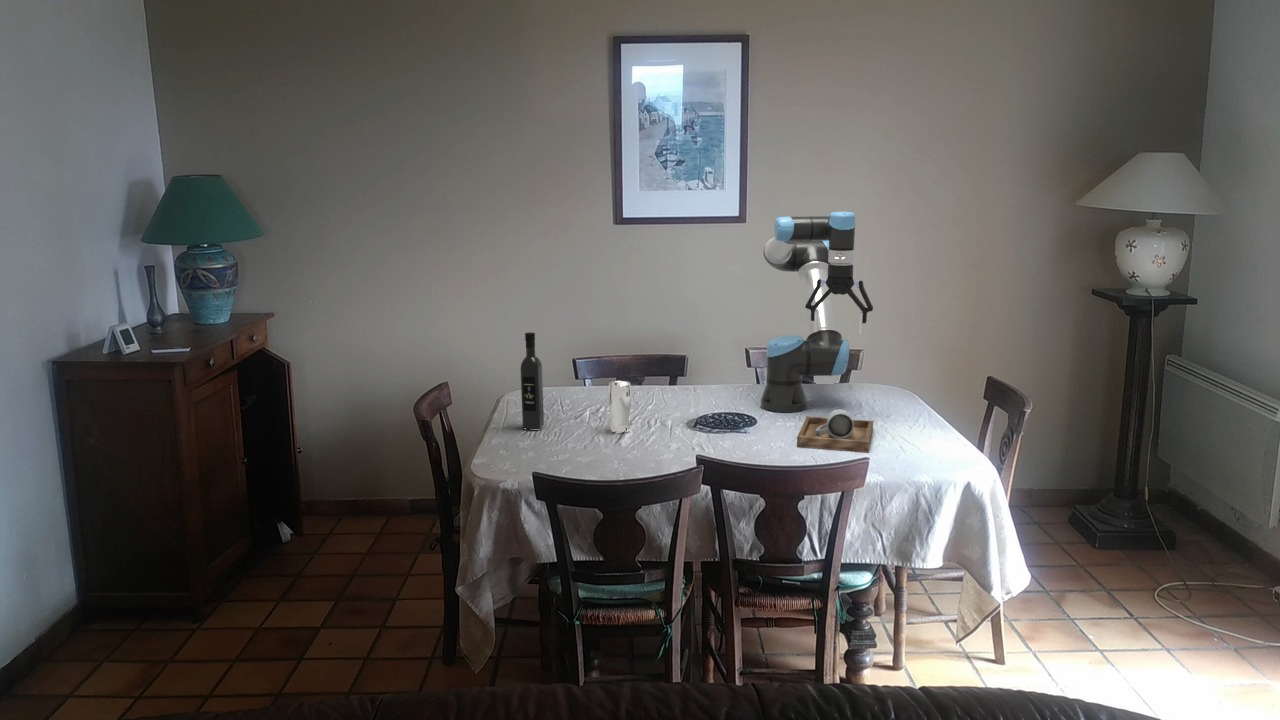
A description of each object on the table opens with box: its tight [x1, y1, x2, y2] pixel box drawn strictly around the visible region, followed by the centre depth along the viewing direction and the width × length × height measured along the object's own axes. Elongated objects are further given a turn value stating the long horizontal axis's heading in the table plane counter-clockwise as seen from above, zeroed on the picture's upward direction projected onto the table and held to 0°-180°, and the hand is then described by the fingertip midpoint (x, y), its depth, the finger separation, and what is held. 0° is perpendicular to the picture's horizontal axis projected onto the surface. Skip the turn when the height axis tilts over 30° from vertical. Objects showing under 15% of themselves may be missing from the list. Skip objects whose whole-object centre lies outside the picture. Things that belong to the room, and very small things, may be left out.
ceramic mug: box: [816, 408, 854, 439], centre depth 275 cm, size 11×8×8 cm
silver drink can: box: [607, 380, 632, 432], centre depth 285 cm, size 7×7×15 cm
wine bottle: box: [519, 331, 545, 430], centre depth 287 cm, size 6×6×30 cm
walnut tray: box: [796, 416, 874, 453], centre depth 276 cm, size 20×22×3 cm
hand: (838, 332), depth 288 cm, fingers open, 13 cm apart
